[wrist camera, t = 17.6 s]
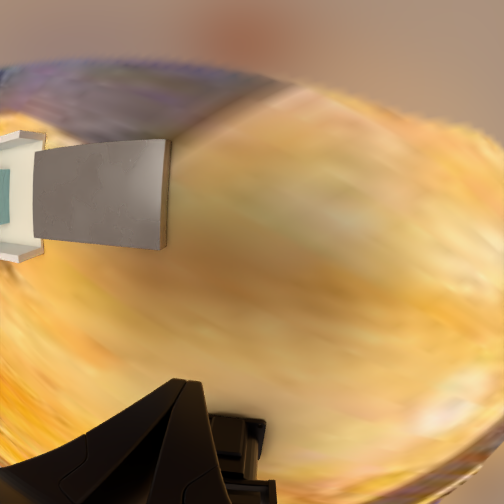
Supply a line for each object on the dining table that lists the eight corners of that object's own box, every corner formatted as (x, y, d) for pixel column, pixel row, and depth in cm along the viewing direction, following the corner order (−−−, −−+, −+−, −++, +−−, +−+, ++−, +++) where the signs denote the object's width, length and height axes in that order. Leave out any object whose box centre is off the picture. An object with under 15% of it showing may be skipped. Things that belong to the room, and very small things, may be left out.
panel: (166, 246, 18) (159, 250, 17) (42, 235, 19) (33, 237, 18) (171, 141, 17) (165, 139, 16) (44, 152, 17) (34, 151, 16)
